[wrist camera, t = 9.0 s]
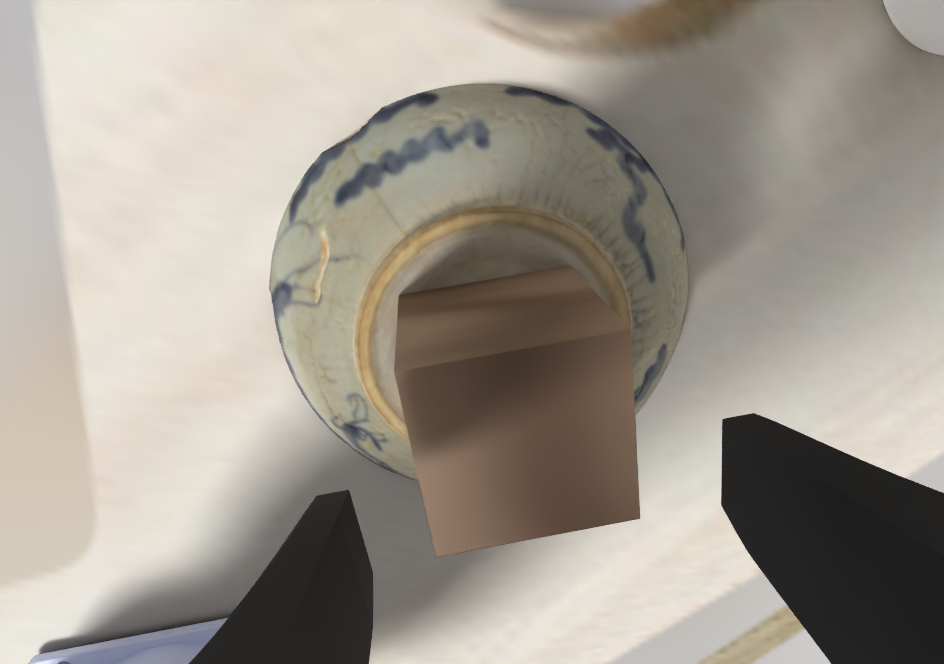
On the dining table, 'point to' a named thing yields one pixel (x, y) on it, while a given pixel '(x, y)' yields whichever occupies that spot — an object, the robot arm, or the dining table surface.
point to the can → (919, 22)
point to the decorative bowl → (464, 241)
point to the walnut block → (517, 408)
